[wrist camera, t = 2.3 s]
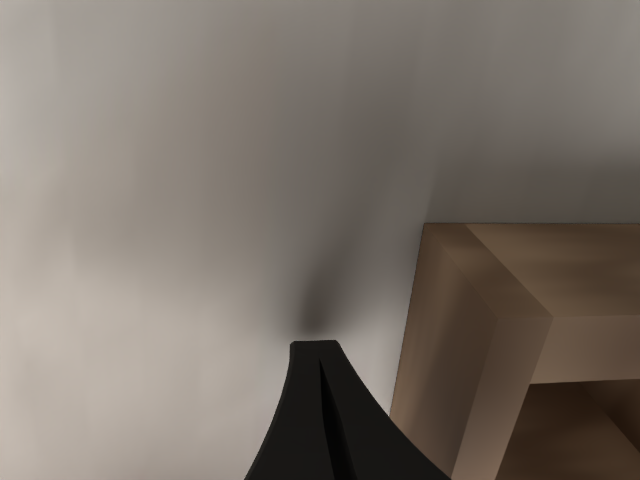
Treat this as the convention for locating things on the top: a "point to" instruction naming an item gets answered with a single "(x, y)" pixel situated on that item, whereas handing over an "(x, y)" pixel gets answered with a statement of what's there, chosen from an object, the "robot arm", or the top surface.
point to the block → (524, 352)
